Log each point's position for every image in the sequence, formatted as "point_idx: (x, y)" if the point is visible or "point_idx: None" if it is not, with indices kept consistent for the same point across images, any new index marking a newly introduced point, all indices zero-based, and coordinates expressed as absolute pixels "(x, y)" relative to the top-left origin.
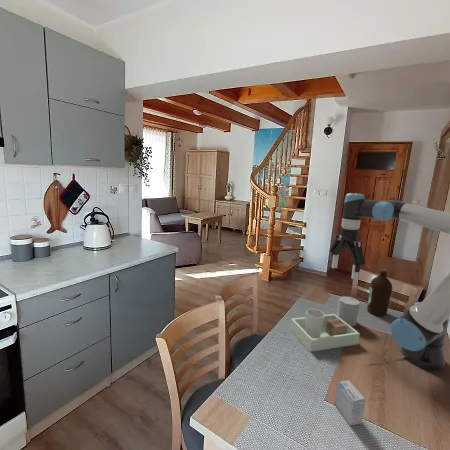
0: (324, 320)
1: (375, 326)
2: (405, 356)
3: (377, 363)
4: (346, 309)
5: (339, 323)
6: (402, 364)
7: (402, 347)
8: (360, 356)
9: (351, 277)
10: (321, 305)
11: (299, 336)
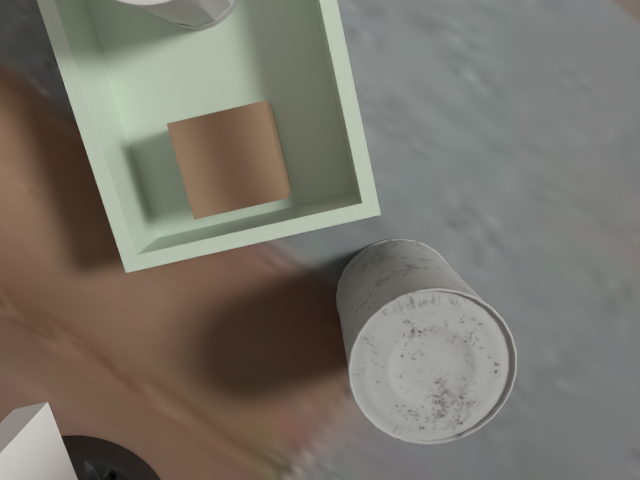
0: (342, 122)
1: (356, 451)
2: (63, 442)
3: (9, 276)
4: (361, 303)
5: (220, 179)
6: (20, 395)
7: (99, 464)
8: (57, 216)
9: (33, 414)
10: (630, 229)
11: None
